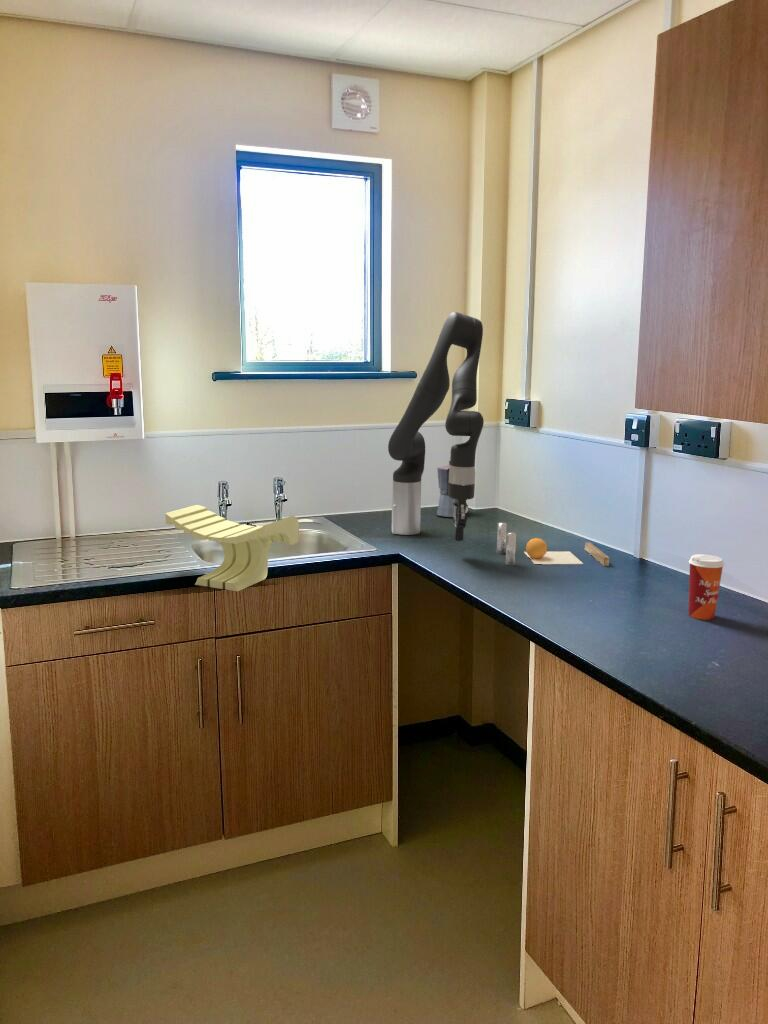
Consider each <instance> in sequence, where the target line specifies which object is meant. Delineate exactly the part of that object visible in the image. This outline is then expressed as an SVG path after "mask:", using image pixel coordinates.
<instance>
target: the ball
mask: <svg viewBox="0 0 768 1024" xmlns="http://www.w3.org/2000/svg"><path fill="white" fill-rule="evenodd" d="M525 550H526V551H525V552H527V553H528V555H529V556H530V557H532V558H535V559H539V558H542V557H543V556H544V555H545V554H546V552H548V545H547V543H546V542H545V541H544V539H542V538H540V537H539V538H538V537H535V538H534V537H533V538H532V539H530V540H529V541H528V542H527V543H526V546H525Z"/></svg>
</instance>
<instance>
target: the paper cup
mask: <svg viewBox="0 0 768 1024" xmlns="http://www.w3.org/2000/svg"><path fill="white" fill-rule="evenodd" d="M688 563H689V582H688V583H689V586H688V616H689V617H690V616H691V618H692V617H693V619H695V618H696V619H695V620H700V619H701V620H702V621H711V620H710V619H712V620H714V619H715V615H716V610H717V605H718V599H719V594H720V593H719V592H720V588H721V587H720V585H721V579H722V574H723V567H725V563H724V560H723V558H721V557H720V556H717V555H714V554H713V555H712V554H705V553H704V554H703V553H701V554H700V553H696V554H692V555H691V556H690V559H689V560H688ZM713 618H714V619H713Z"/></svg>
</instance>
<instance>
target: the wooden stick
mask: <svg viewBox="0 0 768 1024" xmlns="http://www.w3.org/2000/svg"><path fill="white" fill-rule="evenodd" d="M585 550H586V551H587V552H588V553H589V554H588V553H587V552H586V551H585ZM584 551H585V552H586V553H587V554H588V555H589V556H591V555H592V556H593V557H594V558H595V559H594V558H593V557H592V556H591V557H592V558H593V559H594V560H596V561H597V562H598V561H599V562H600V563H599V562H598V563H599V564H601V565H602V566H603V567H609V566H610V557H609V556H608V555H607V554H605V552H603V550H601V549H599V548H598V547H596V546H595V545H594V544H593V543H592V542H588V541H587V542H585V543H584Z"/></svg>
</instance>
